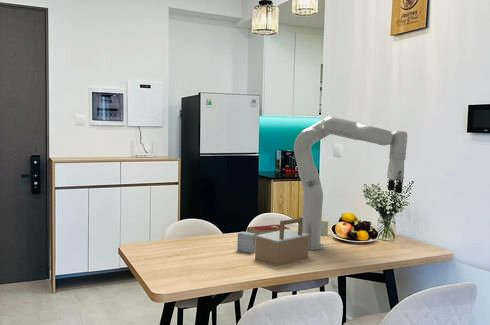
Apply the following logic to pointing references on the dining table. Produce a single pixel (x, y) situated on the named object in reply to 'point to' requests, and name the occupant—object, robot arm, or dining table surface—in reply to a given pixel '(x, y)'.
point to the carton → (281, 250)
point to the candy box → (324, 228)
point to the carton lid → (285, 232)
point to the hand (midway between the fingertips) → (394, 191)
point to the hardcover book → (264, 229)
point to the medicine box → (246, 242)
